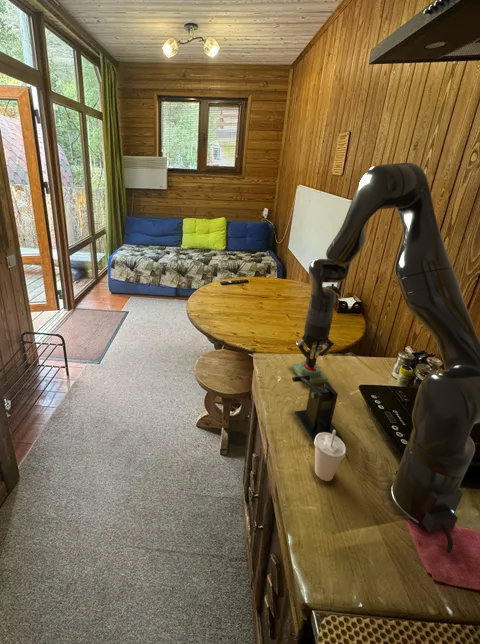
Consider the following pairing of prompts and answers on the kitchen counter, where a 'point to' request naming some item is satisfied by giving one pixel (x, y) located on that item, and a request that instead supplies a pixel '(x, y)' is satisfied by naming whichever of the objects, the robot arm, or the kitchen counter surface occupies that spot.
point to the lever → (306, 381)
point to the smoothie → (328, 454)
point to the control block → (310, 372)
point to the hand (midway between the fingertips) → (310, 366)
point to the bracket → (318, 412)
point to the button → (310, 368)
